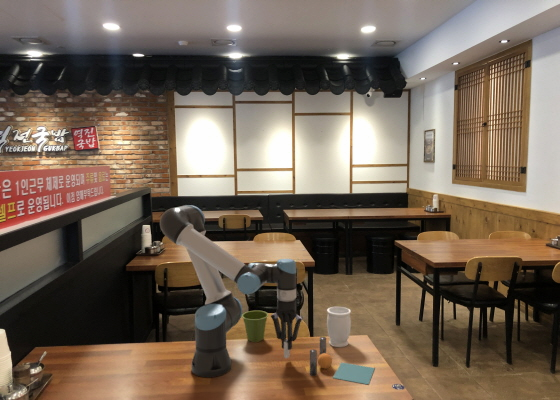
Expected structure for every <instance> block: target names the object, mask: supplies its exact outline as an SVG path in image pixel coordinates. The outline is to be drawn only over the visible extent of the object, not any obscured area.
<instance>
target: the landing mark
mask: <svg viewBox="0 0 560 400" xmlns="http://www.w3.org/2000/svg"><path fill="white" fill-rule="evenodd" d="M374 372H375V367H370V366H366V365H365V366H364V365H359V364H353V363H347V362H340V364H339V366H338V368H337V370H336V371H335V372H334V375H333V376H332V379H335V380H342V381H345V382H351V383H356V384H357V383H358V384H361V385H362V384H363V385H367V386H369V385H370V381H371V379H372V377H373V374H374Z"/></svg>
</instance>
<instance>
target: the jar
mask: <svg viewBox="0 0 560 400" xmlns="http://www.w3.org/2000/svg"><path fill="white" fill-rule="evenodd" d="M326 313H327V317H326V329H327V335H328V337H329V341H328V343H329V344H328V345H331V346H332V347H334V348H345V347H347V346H348V345H349V341H348V339H349V338H350V334H351V327H352V321H351V319H352V318H351V313H352V310H351V309H350V308H348V307H345V306H331V307H328V308H327V309H326Z"/></svg>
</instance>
